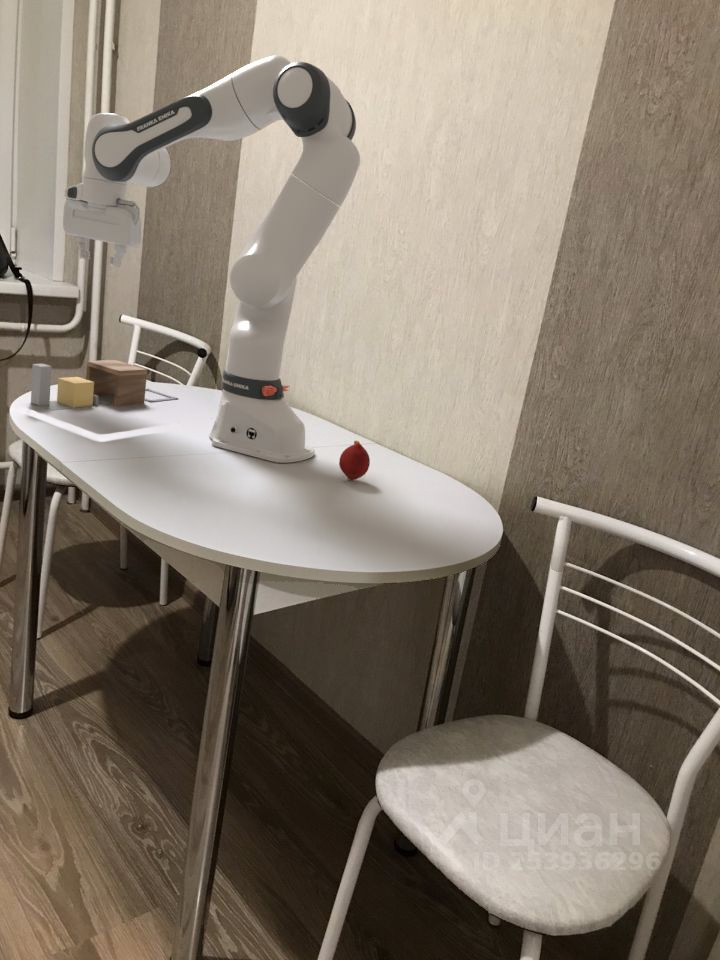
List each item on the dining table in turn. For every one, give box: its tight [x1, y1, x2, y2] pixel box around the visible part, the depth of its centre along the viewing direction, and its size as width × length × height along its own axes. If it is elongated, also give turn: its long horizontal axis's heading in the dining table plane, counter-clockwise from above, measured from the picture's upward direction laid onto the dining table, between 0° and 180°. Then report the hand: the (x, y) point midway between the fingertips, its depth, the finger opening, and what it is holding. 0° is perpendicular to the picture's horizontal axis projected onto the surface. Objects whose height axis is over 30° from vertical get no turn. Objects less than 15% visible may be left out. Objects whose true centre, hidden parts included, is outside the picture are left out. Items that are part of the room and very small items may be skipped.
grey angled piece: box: [30, 363, 111, 411], centre depth 155 cm, size 6×15×9 cm, turn 150°
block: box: [56, 376, 94, 408], centre depth 156 cm, size 5×5×5 cm
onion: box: [338, 440, 371, 482], centre depth 141 cm, size 6×6×8 cm
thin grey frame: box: [144, 388, 179, 403], centre depth 175 cm, size 10×9×2 cm
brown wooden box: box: [85, 359, 148, 407], centre depth 165 cm, size 10×8×9 cm
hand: (99, 262), depth 162 cm, fingers open, 8 cm apart
